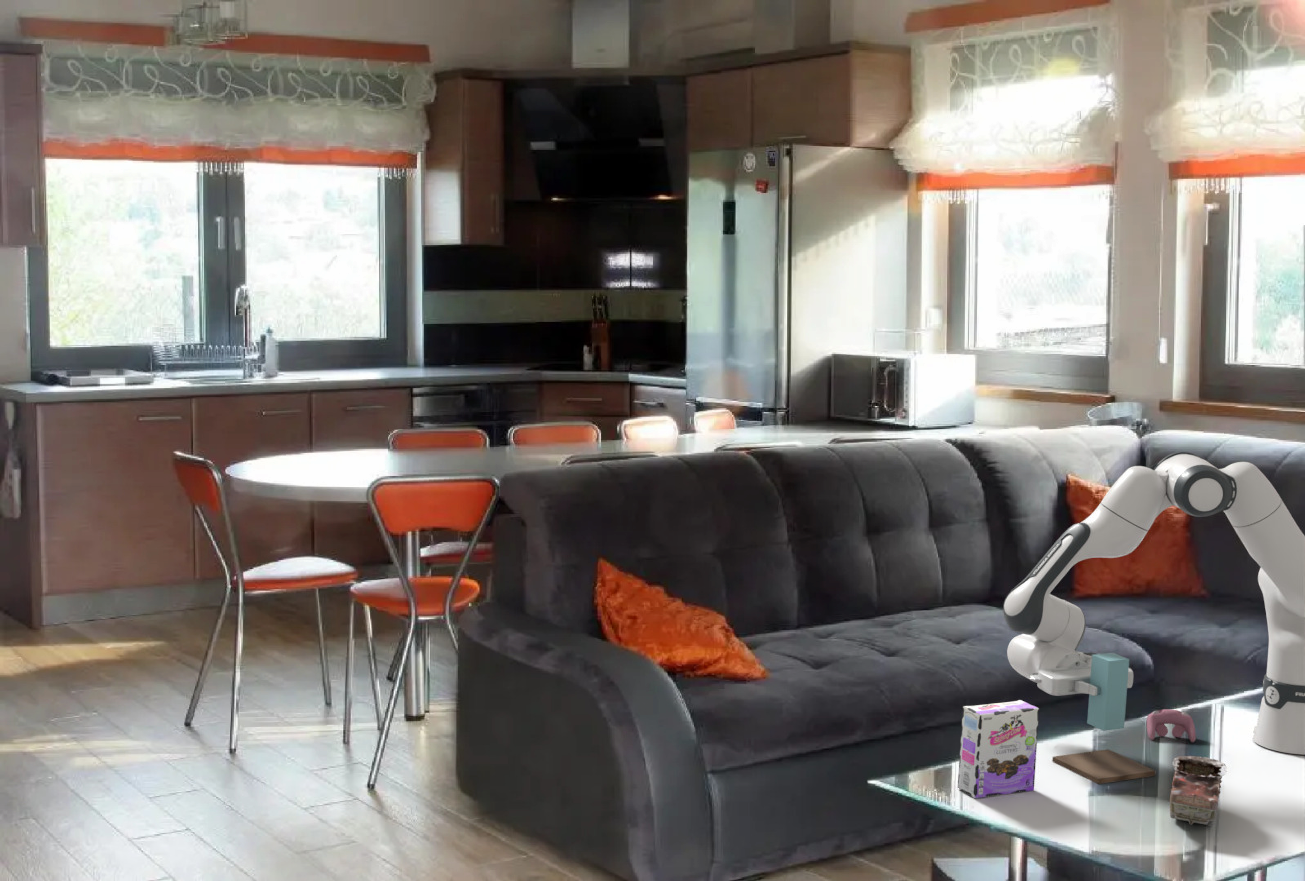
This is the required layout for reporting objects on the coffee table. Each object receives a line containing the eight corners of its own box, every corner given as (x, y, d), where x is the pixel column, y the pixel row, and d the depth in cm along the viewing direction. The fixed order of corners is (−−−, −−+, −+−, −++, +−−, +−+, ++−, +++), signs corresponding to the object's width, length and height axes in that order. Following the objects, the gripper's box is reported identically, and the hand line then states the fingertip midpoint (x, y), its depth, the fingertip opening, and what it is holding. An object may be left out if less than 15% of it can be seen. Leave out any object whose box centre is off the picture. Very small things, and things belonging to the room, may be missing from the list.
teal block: (1107, 721, 334) (1112, 652, 332) (1123, 728, 330) (1129, 659, 328) (1087, 723, 332) (1092, 654, 330) (1103, 730, 328) (1108, 661, 326)
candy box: (974, 799, 312) (979, 714, 310) (956, 789, 318) (961, 705, 315) (1035, 791, 318) (1040, 707, 316) (1016, 781, 323) (1021, 698, 321)
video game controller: (1192, 745, 354) (1191, 712, 356) (1197, 742, 350) (1196, 708, 352) (1144, 742, 355) (1144, 709, 357) (1149, 739, 351) (1148, 705, 353)
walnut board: (1107, 753, 341) (1108, 749, 341) (1155, 775, 329) (1155, 770, 329) (1052, 761, 335) (1052, 756, 335) (1098, 783, 323) (1098, 778, 323)
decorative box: (1247, 811, 310) (1251, 761, 309) (1231, 846, 293) (1235, 792, 291) (1174, 798, 316) (1178, 748, 315) (1153, 831, 299) (1157, 779, 297)
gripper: (1025, 660, 337) (1069, 679, 324) (1106, 652, 345) (1152, 670, 333) (1023, 691, 338) (1067, 710, 325) (1104, 682, 346) (1150, 701, 334)
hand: (1111, 690), depth 329 cm, fingers closed on teal block, 5 cm apart
